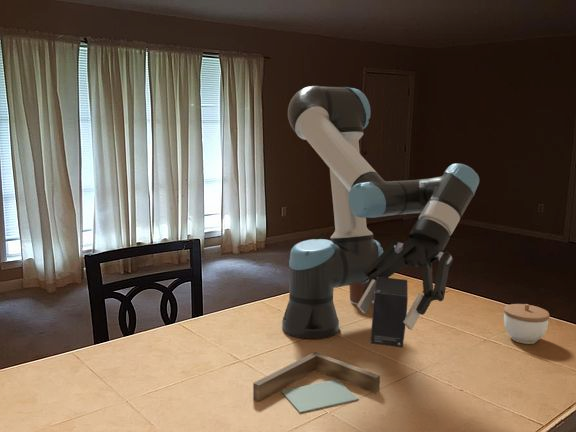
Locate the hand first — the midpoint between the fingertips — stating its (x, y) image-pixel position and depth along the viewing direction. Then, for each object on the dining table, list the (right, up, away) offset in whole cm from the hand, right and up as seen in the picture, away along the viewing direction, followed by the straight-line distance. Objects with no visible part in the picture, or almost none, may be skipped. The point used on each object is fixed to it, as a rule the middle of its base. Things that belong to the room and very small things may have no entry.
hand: (383, 317), depth 107 cm
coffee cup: (+4, -7, +62) cm, 63 cm away
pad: (-12, -17, +6) cm, 22 cm away
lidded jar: (+43, -12, +36) cm, 57 cm away
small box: (+1, -4, +2) cm, 5 cm away
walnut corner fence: (-13, -17, +6) cm, 22 cm away
